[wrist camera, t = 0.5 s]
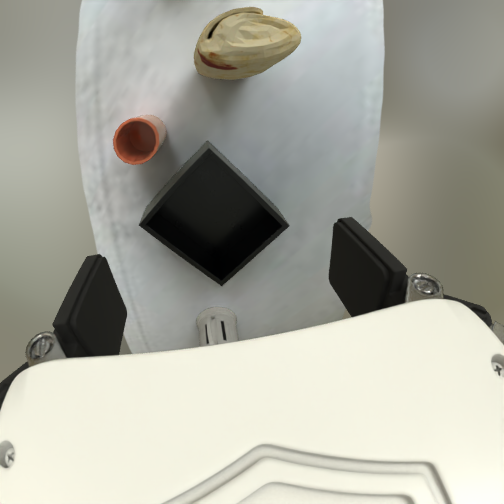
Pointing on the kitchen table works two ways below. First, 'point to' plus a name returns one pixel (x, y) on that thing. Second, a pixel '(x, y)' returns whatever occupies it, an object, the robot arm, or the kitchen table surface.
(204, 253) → the black storage bin
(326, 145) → the kitchen table surface
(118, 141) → the cup
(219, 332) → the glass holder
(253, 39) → the food model
